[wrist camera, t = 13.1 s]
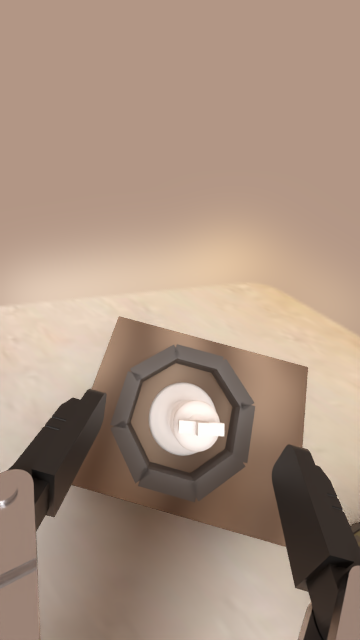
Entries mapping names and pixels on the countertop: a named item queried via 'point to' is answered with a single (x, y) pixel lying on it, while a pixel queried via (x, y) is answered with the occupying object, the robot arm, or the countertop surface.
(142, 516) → the countertop surface
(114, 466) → the socket board
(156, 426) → the chess piece
